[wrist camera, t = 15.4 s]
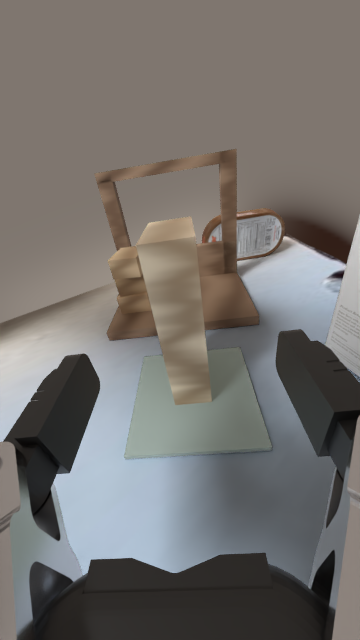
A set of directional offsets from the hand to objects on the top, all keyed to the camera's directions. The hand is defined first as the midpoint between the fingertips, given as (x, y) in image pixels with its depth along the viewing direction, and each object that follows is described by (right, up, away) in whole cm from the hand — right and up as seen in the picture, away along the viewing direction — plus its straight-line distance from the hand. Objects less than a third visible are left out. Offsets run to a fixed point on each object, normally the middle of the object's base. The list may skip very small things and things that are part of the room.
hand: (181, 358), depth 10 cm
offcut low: (-6, +4, +23) cm, 24 cm away
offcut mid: (-6, +6, +22) cm, 24 cm away
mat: (+1, -5, +10) cm, 11 cm away
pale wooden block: (+1, -4, +11) cm, 12 cm away
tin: (+12, +13, +35) cm, 39 cm away
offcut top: (-6, +8, +20) cm, 23 cm away
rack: (0, +4, +23) cm, 24 cm away
